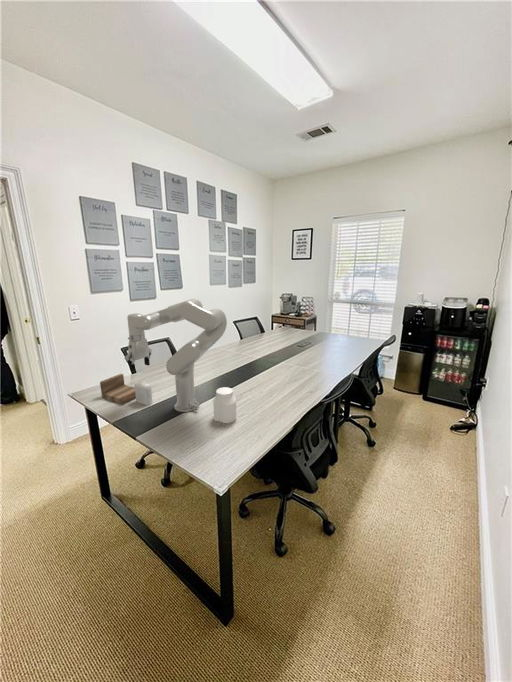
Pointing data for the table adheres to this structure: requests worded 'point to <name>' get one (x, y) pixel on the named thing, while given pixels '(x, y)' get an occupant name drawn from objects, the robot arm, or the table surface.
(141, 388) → the photo printer
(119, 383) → the cleat board
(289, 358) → the table surface
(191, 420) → the table surface
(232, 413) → the jar
